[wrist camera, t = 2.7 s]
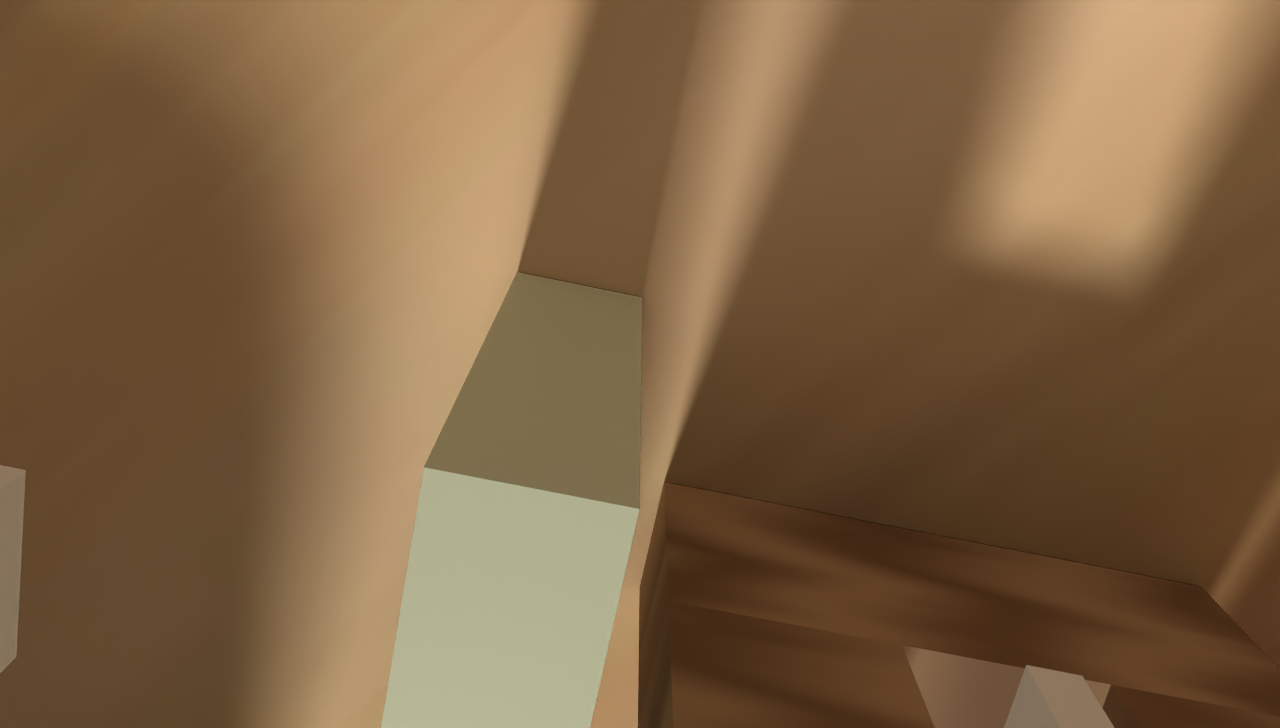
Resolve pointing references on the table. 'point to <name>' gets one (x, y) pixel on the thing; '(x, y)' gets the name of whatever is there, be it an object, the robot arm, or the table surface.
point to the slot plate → (525, 519)
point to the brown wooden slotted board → (914, 629)
